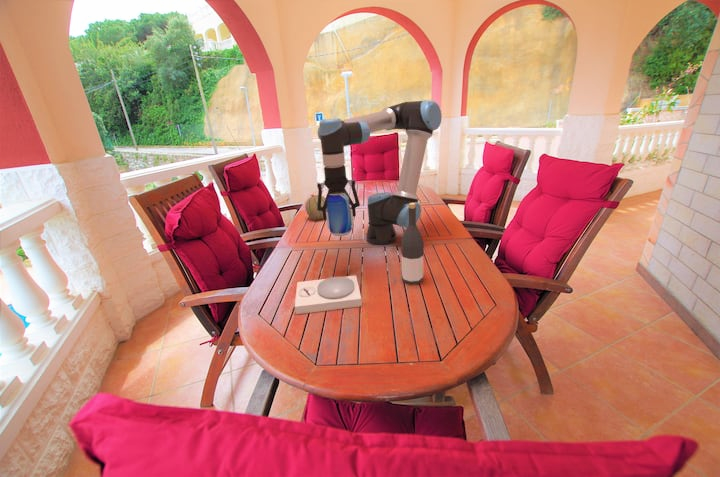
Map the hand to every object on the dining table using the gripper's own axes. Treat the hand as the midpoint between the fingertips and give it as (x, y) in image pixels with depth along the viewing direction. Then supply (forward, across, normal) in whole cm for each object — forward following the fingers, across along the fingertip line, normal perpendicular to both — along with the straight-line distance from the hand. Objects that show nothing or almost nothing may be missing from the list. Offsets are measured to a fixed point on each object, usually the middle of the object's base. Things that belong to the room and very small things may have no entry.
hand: (340, 225), depth 120 cm
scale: (+20, +7, +16) cm, 27 cm away
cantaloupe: (+21, +10, -73) cm, 76 cm away
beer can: (+3, 0, 0) cm, 3 cm away
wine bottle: (+21, -25, +11) cm, 34 cm away
